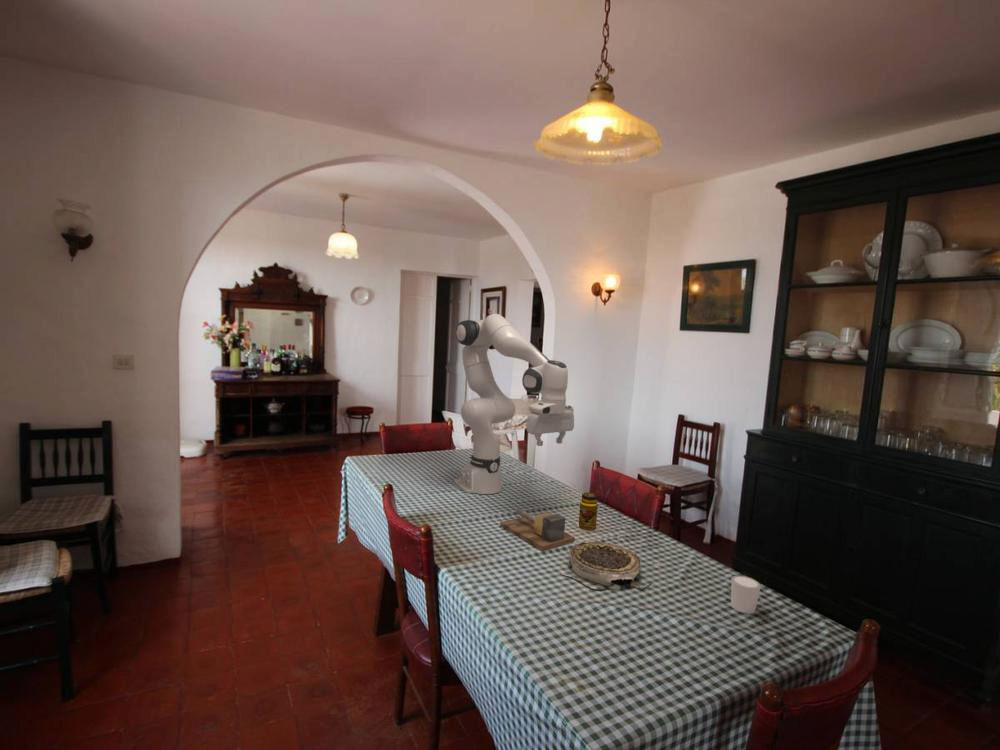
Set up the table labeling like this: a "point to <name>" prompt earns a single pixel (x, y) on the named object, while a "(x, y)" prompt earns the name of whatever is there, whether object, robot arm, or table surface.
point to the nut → (539, 523)
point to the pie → (604, 563)
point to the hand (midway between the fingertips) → (549, 444)
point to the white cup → (744, 594)
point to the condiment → (588, 512)
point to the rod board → (529, 531)
